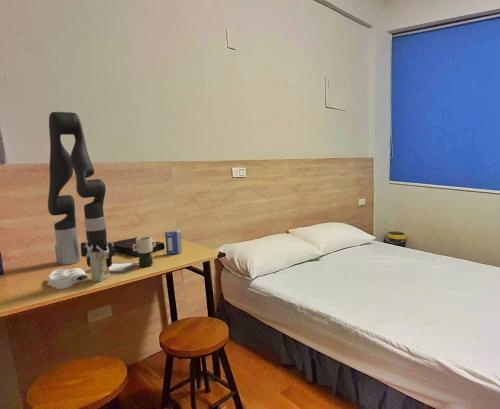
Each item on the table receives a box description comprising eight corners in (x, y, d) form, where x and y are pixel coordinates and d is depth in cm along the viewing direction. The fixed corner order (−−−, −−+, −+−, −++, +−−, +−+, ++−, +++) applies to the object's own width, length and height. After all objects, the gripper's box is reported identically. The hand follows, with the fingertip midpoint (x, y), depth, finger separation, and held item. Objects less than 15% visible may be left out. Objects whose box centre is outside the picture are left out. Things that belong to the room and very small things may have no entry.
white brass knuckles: (90, 283, 133) (48, 293, 124) (81, 272, 147) (43, 280, 138) (89, 275, 133) (47, 284, 124) (80, 264, 147) (42, 272, 138)
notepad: (85, 272, 145) (85, 270, 145) (103, 262, 158) (103, 261, 158) (124, 273, 142) (124, 271, 142) (139, 263, 155) (139, 262, 154)
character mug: (154, 261, 158) (151, 235, 156) (160, 264, 153) (158, 237, 151) (131, 266, 151) (129, 239, 149) (137, 270, 146) (135, 241, 144)
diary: (137, 244, 193) (137, 236, 193) (165, 250, 178) (164, 241, 178) (108, 252, 178) (107, 243, 178) (135, 259, 164) (134, 249, 163)
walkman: (166, 255, 167) (165, 232, 165) (166, 253, 170) (165, 231, 168) (182, 253, 169) (180, 231, 167) (182, 252, 172) (180, 230, 170)
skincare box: (100, 282, 133) (97, 253, 131) (91, 281, 134) (88, 252, 132) (110, 276, 139) (107, 248, 137) (101, 275, 140) (98, 248, 138)
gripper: (73, 230, 131) (78, 269, 133) (105, 230, 128) (110, 269, 130) (86, 226, 138) (90, 263, 140) (116, 226, 135) (120, 263, 138)
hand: (99, 266), depth 135 cm, fingers open, 8 cm apart
